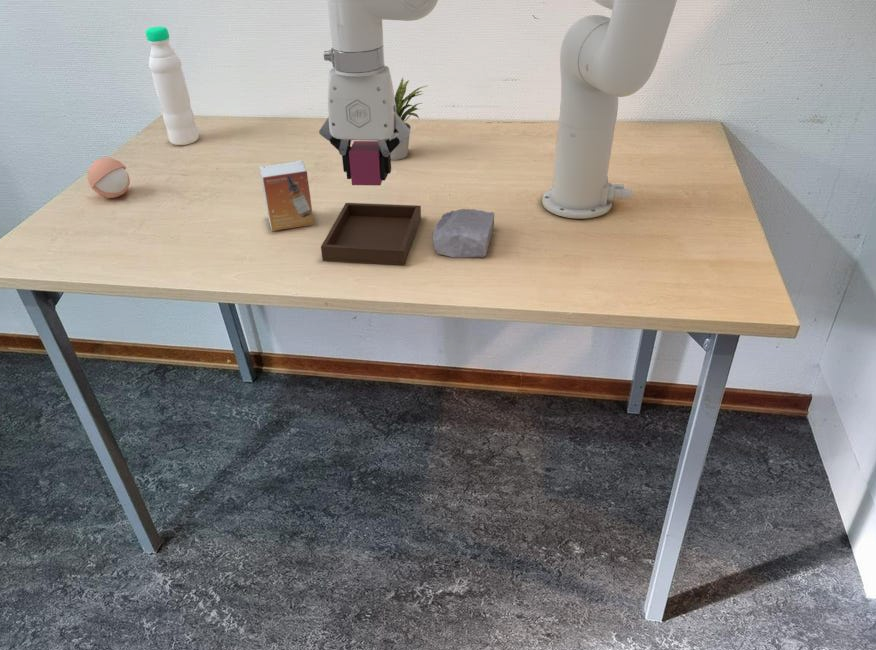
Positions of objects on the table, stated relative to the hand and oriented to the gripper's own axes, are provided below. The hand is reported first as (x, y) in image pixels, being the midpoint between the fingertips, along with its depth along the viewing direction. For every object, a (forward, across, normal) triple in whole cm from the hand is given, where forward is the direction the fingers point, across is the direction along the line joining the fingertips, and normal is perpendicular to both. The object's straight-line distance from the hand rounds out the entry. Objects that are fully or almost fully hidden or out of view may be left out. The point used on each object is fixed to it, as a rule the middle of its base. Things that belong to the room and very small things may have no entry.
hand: (367, 175), depth 109 cm
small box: (+12, -17, +5) cm, 21 cm away
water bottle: (+12, -57, +44) cm, 73 cm away
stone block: (+12, +16, +1) cm, 20 cm away
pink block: (+1, 0, 0) cm, 1 cm away
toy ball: (+12, -58, +13) cm, 61 cm away
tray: (+12, 0, 0) cm, 12 cm away
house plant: (+12, -3, +37) cm, 39 cm away
